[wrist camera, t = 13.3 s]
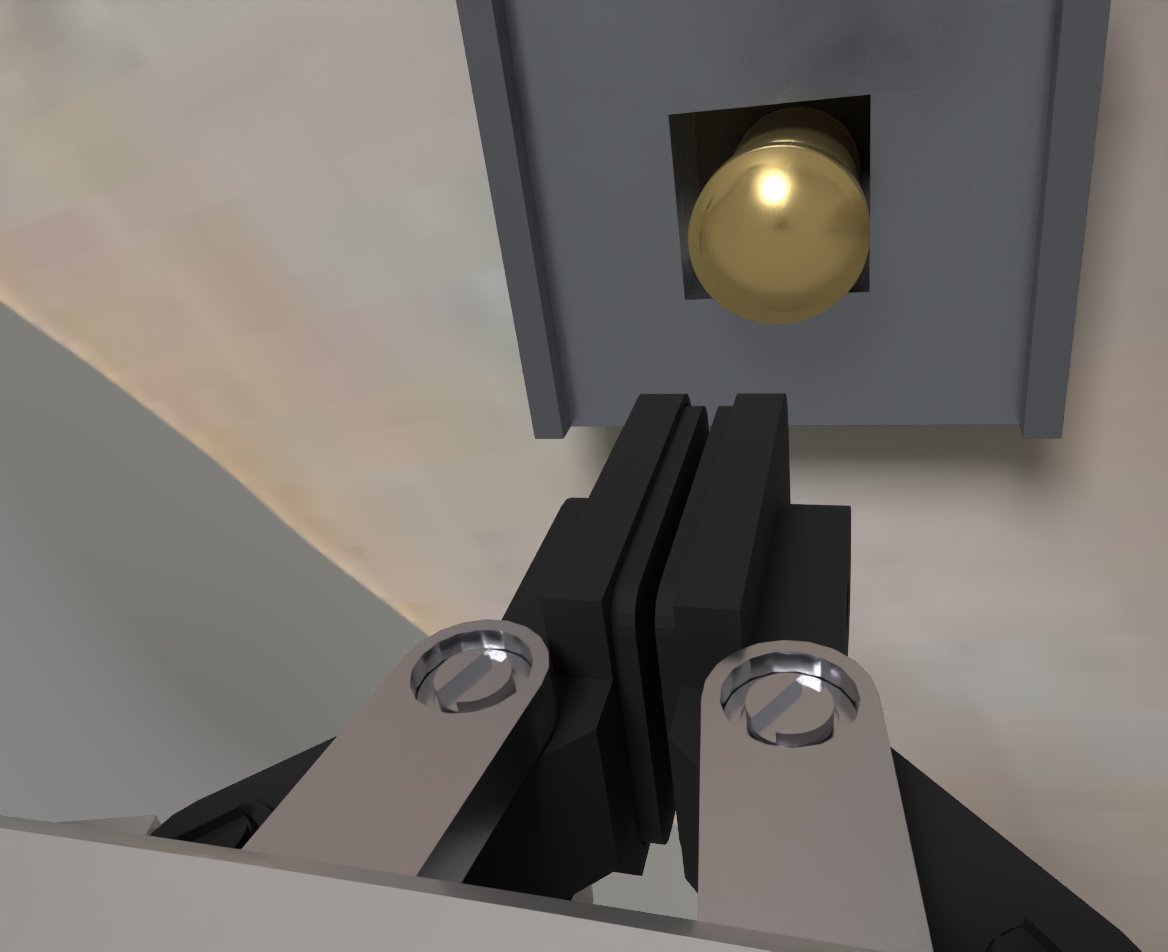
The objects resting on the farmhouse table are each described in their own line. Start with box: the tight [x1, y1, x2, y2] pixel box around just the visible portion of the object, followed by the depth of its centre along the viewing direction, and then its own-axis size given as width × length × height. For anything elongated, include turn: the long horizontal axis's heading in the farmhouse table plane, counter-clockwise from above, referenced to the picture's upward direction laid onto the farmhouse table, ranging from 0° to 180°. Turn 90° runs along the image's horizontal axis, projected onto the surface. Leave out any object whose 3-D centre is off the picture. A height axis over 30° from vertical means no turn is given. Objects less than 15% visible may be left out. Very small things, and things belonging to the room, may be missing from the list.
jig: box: [456, 0, 1111, 439], centre depth 29 cm, size 14×16×5 cm
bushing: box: [688, 107, 870, 325], centre depth 28 cm, size 5×5×7 cm
